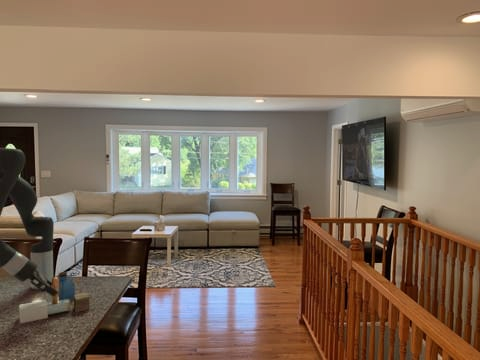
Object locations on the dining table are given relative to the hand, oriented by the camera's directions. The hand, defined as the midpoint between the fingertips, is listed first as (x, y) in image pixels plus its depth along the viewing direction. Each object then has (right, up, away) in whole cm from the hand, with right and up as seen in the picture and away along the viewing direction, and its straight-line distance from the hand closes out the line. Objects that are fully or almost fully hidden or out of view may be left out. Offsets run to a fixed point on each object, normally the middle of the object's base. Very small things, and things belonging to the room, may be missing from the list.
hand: (54, 290), depth 142 cm
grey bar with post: (-2, -8, -1) cm, 9 cm away
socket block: (+8, -9, +6) cm, 13 cm away
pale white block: (-6, -9, -3) cm, 12 cm away
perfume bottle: (-3, -9, +14) cm, 17 cm away
